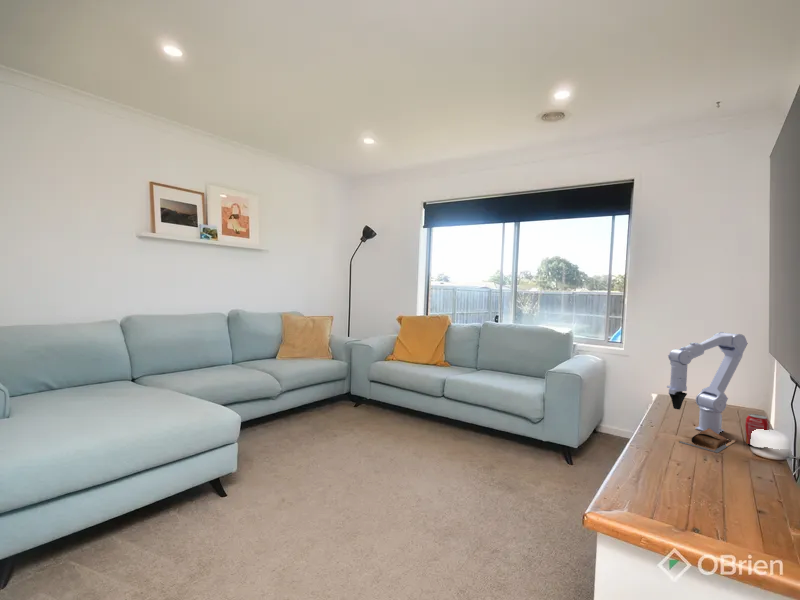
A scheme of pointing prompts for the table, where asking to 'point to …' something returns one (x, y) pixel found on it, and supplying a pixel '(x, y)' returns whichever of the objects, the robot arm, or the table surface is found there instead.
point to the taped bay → (709, 449)
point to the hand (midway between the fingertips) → (676, 408)
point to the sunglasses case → (709, 439)
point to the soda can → (755, 425)
